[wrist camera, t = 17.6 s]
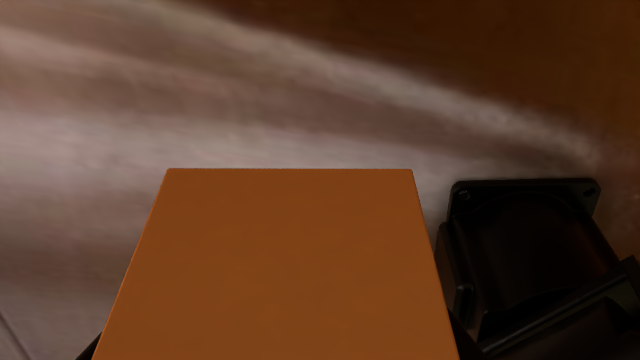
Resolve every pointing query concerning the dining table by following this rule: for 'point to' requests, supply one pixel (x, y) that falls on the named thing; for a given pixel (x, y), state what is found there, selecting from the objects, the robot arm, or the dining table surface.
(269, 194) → the block
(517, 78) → the dining table surface
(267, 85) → the dining table surface
